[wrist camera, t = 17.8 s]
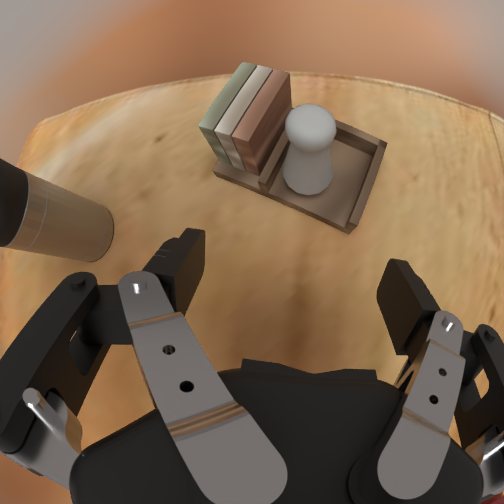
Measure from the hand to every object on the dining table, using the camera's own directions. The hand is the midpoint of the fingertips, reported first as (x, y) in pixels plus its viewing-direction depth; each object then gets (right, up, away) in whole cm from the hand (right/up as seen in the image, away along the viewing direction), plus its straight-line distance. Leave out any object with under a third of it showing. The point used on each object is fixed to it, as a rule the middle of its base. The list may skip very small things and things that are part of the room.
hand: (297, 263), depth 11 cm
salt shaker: (+5, +9, +21) cm, 24 cm away
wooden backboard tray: (+5, +12, +23) cm, 27 cm away
